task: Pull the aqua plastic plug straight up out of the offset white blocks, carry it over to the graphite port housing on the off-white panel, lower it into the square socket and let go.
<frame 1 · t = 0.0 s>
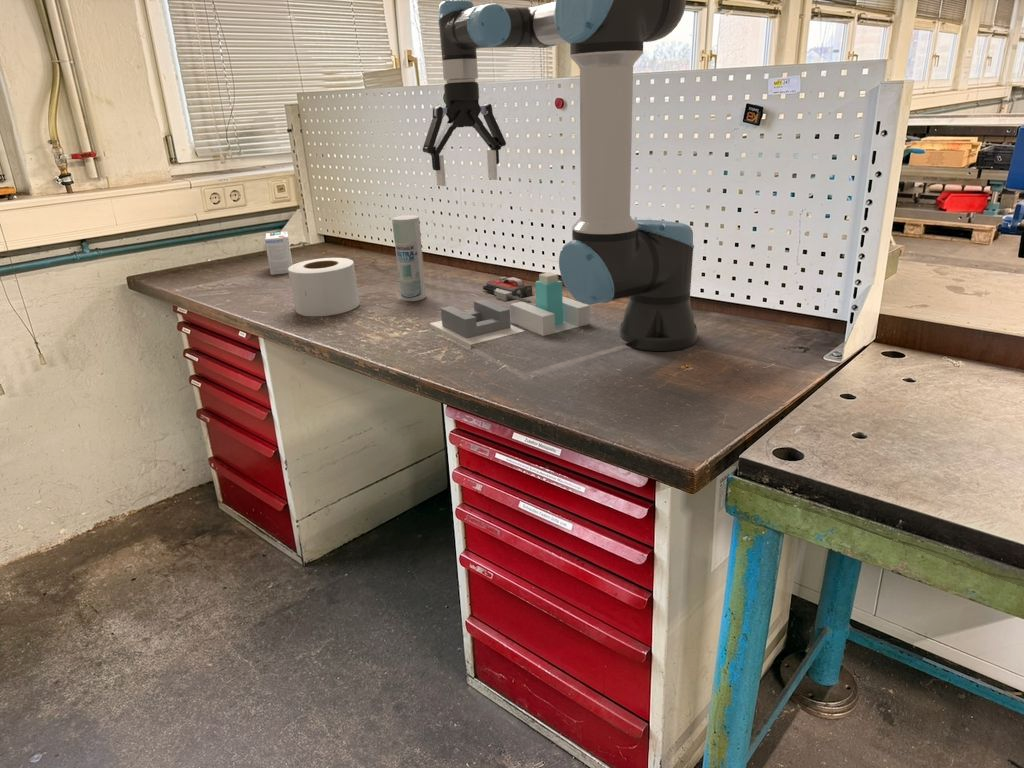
hand: (467, 182, 159), 28 cm above the workbench, fingers open, 13 cm apart
light bulb box: (282, 270, 211), on the workbench
port panel: (476, 331, 147), on the workbench
offset white blocks: (549, 327, 147), on the workbench
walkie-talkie: (514, 298, 172), on the workbench
roll of tape: (327, 308, 170), on the workbench
spray can: (413, 298, 174), on the workbench
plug: (549, 322, 147), point 1 cm above the workbench, touching offset white blocks
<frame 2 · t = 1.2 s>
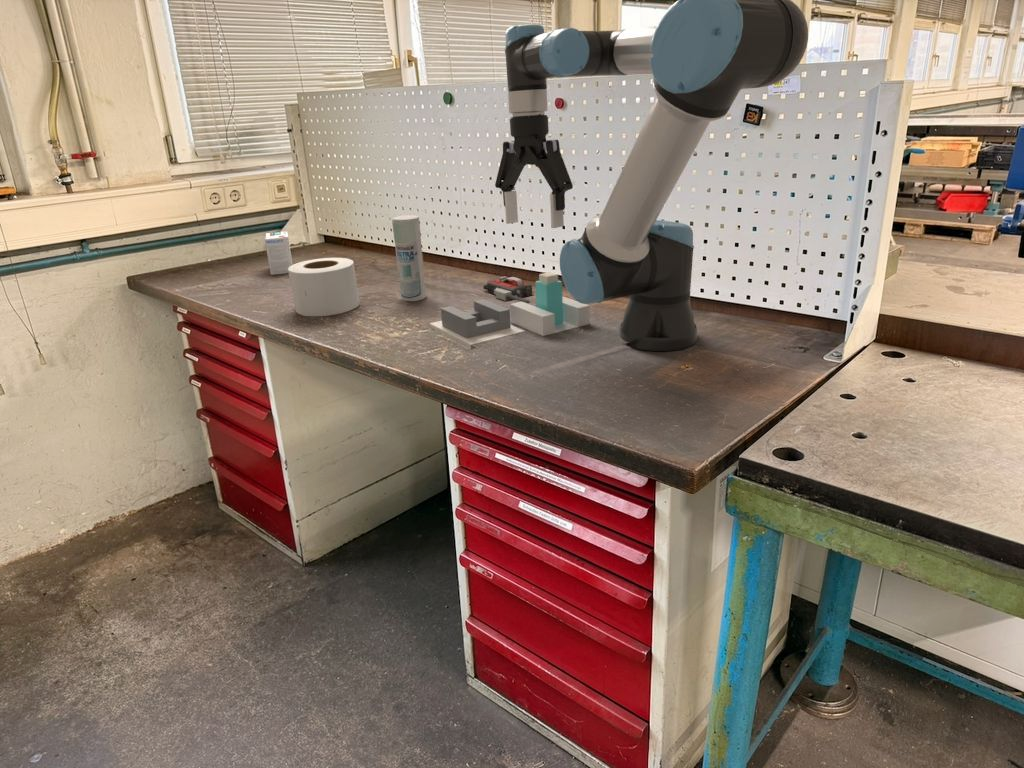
hand: (534, 225, 142), 21 cm above the workbench, fingers open, 13 cm apart
nothing on the workbench moved.
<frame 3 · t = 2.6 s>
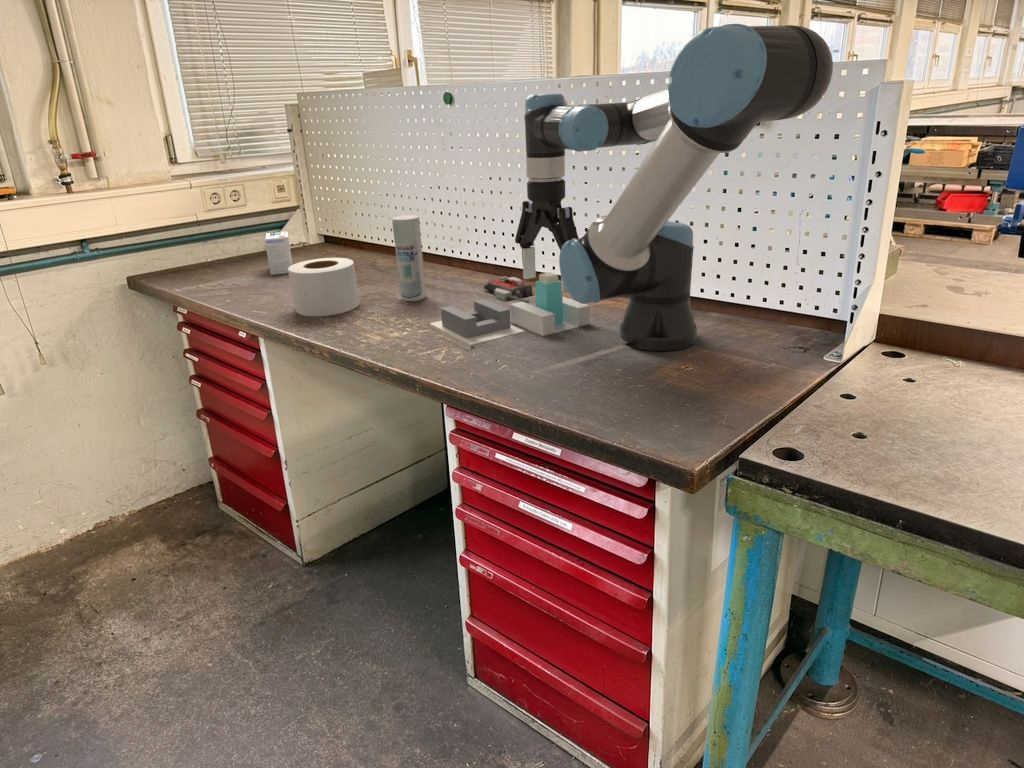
hand: (547, 284, 144), 9 cm above the workbench, fingers open, 13 cm apart
nothing on the workbench moved.
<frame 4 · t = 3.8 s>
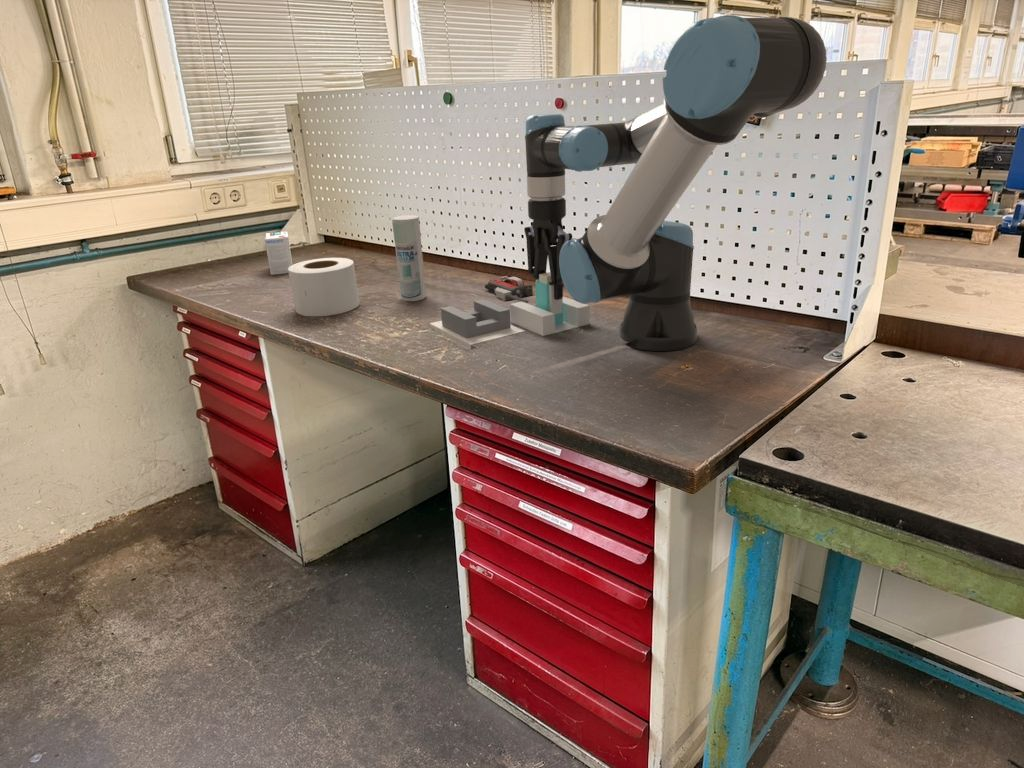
hand: (549, 310, 146), 4 cm above the workbench, fingers closed on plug, 4 cm apart
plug: (549, 322, 147), point 1 cm above the workbench, touching gripper, offset white blocks
everything else where it was.
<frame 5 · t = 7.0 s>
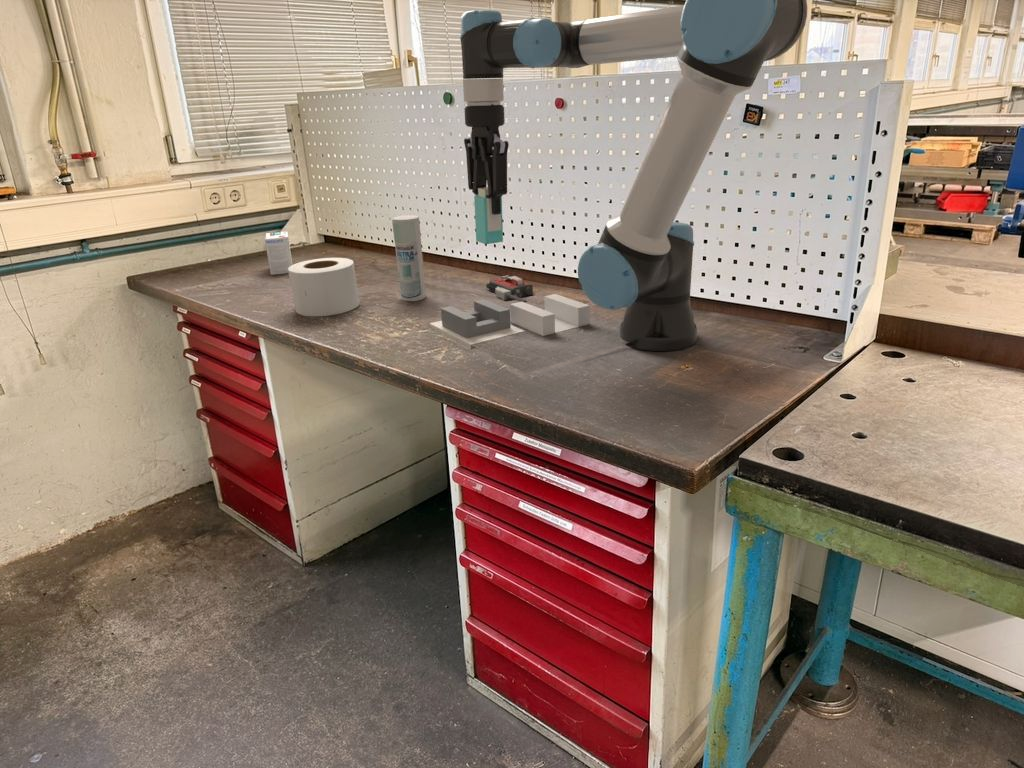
hand: (488, 228, 139), 21 cm above the workbench, fingers closed on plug, 4 cm apart
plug: (489, 241, 141), point 19 cm above the workbench, touching gripper
everything else where it was.
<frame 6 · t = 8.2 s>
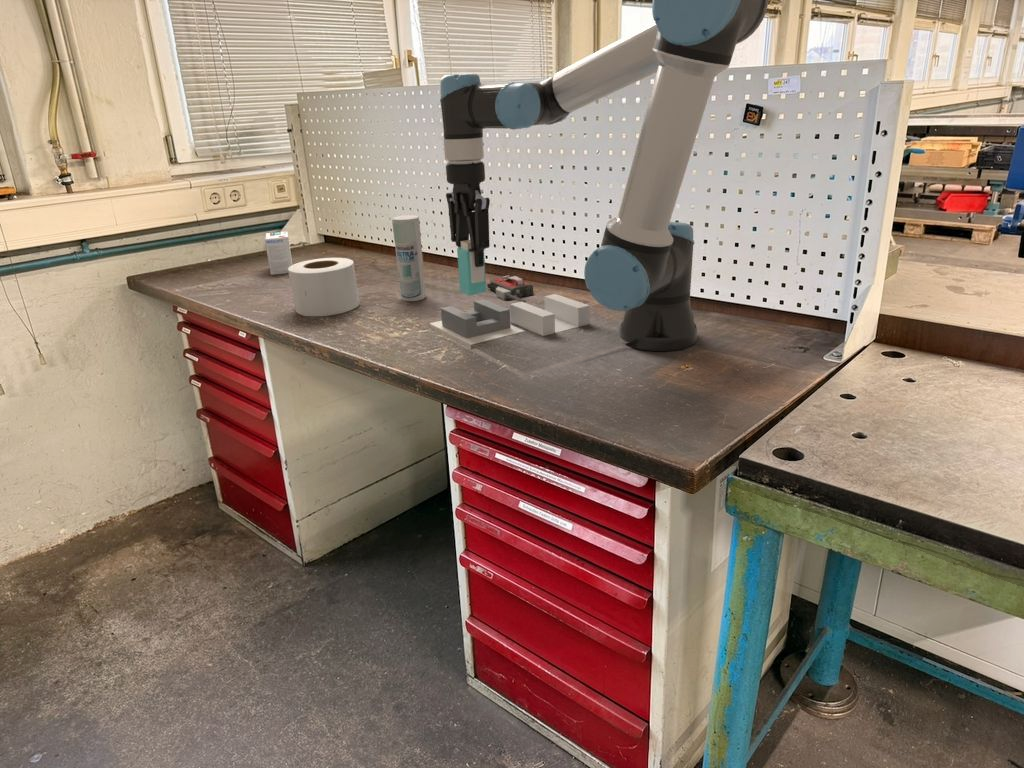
hand: (472, 279, 143), 11 cm above the workbench, fingers closed on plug, 4 cm apart
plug: (473, 291, 144), point 9 cm above the workbench, touching gripper
when the fingers open (5 cm above the workbench, at t = 9.8 s): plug drops 2 cm, resting on port panel.
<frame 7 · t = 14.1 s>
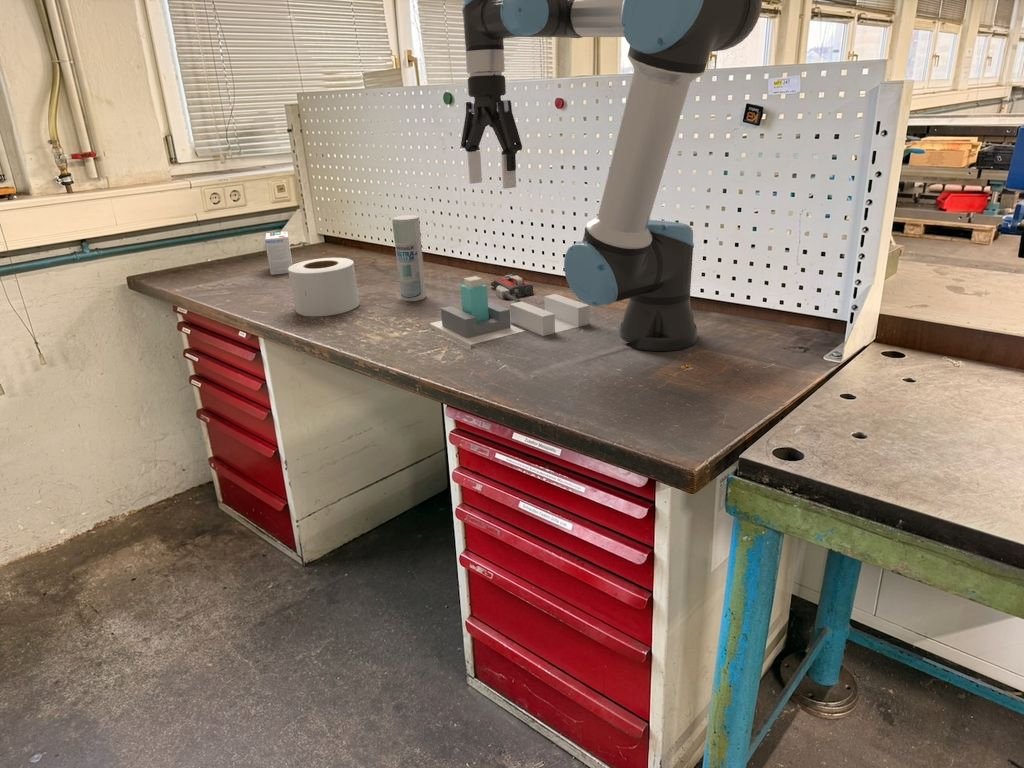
hand: (492, 185, 145), 29 cm above the workbench, fingers open, 13 cm apart
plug: (476, 326, 147), point 1 cm above the workbench, touching port panel
at the end: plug 0.1 cm off-centre on the port panel, point 1.0 cm above the port panel's base; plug tilted 0°; the gripper is holding nothing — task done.
